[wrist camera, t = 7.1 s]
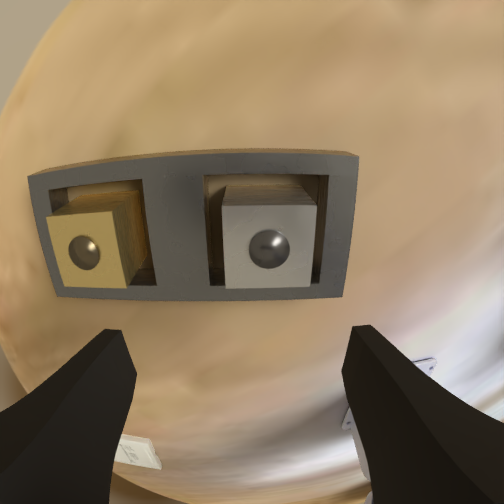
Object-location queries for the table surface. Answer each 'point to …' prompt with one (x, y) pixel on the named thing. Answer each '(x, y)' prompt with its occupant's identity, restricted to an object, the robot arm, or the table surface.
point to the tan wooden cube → (99, 239)
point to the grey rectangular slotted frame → (205, 219)
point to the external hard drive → (137, 452)
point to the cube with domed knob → (268, 236)
